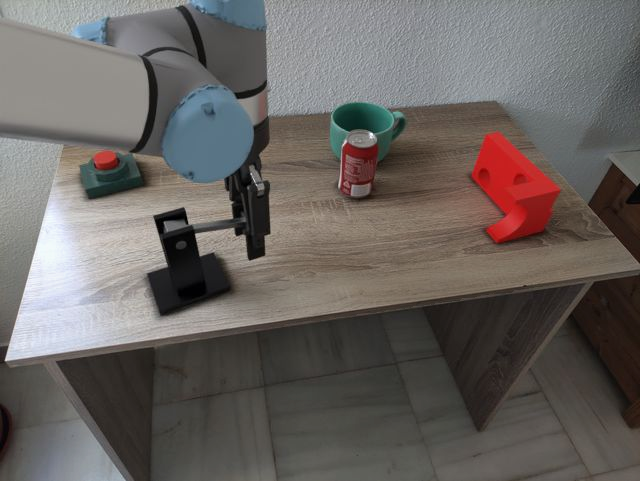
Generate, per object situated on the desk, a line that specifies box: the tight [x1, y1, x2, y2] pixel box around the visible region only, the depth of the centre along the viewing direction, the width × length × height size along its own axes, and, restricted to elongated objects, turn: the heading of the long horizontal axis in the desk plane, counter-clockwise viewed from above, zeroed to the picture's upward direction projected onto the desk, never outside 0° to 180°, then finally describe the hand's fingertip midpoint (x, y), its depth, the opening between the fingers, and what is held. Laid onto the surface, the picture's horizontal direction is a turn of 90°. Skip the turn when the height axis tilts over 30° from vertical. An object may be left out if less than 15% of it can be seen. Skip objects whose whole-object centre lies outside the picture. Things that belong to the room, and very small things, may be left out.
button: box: [93, 150, 119, 171], centre depth 88 cm, size 4×4×2 cm
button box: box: [78, 151, 144, 199], centre depth 90 cm, size 10×8×4 cm
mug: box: [329, 101, 407, 163], centre depth 97 cm, size 17×13×10 cm
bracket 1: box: [146, 206, 231, 316], centre depth 69 cm, size 11×8×14 cm
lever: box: [163, 208, 247, 235], centre depth 68 cm, size 13×5×2 cm, turn 117°
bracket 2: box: [471, 131, 562, 244], centre depth 87 cm, size 18×10×10 cm
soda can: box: [337, 130, 379, 199], centre depth 88 cm, size 7×7×12 cm
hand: (249, 244), depth 75 cm, fingers closed on lever, 5 cm apart
